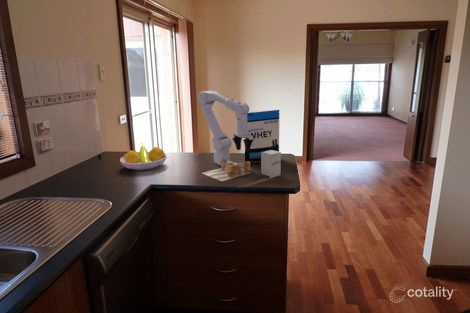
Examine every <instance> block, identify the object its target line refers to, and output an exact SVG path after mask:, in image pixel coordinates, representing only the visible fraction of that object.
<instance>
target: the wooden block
mask: <svg viewBox="0 0 470 313" xmlns="http://www.w3.org/2000/svg"><path fill="white" fill-rule="evenodd" d="M239 165H244V172H247V171H248V172H251V165H250V162H249V161H247V162H245V161H244V162H240V163H238V164H235V165H231V166H227V167H228V176H233V175H236V174H238V169H239Z"/></svg>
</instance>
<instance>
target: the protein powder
mask: <svg viewBox="0 0 470 313" xmlns="http://www.w3.org/2000/svg"><path fill="white" fill-rule="evenodd" d="M247 124H248V133H249V135H252V136H253V142H252V144H251V147H250V152H246V150H245V149H244V162H247V161H249V162H250V166H256V165H257V164H258V165H261V152H265V151H269V150H273V151H278V152H280V109H272V110H264V111H263V110H262V111H253V112H248V113H247ZM245 139H246V138H243V140H245Z"/></svg>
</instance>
